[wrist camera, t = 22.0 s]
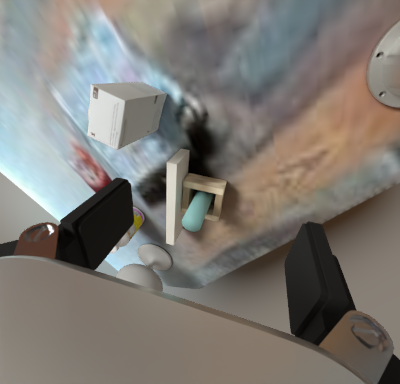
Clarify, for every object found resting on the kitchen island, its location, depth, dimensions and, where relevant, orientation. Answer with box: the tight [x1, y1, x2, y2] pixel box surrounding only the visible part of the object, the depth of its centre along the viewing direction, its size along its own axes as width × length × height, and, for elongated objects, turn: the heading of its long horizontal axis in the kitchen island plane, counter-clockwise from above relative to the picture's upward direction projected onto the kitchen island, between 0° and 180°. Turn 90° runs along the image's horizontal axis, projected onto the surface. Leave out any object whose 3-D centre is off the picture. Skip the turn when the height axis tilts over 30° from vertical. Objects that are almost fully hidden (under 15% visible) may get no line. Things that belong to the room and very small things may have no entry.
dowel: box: [182, 190, 214, 232], centre depth 46 cm, size 4×4×12 cm
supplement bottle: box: [110, 207, 144, 253], centre depth 56 cm, size 7×7×13 cm
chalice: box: [116, 244, 172, 292], centre depth 62 cm, size 14×14×15 cm
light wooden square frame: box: [182, 173, 227, 222], centre depth 49 cm, size 9×9×4 cm
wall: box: [166, 149, 190, 245], centre depth 49 cm, size 2×22×8 cm, turn 174°
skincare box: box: [88, 82, 167, 150], centre depth 37 cm, size 8×6×15 cm
